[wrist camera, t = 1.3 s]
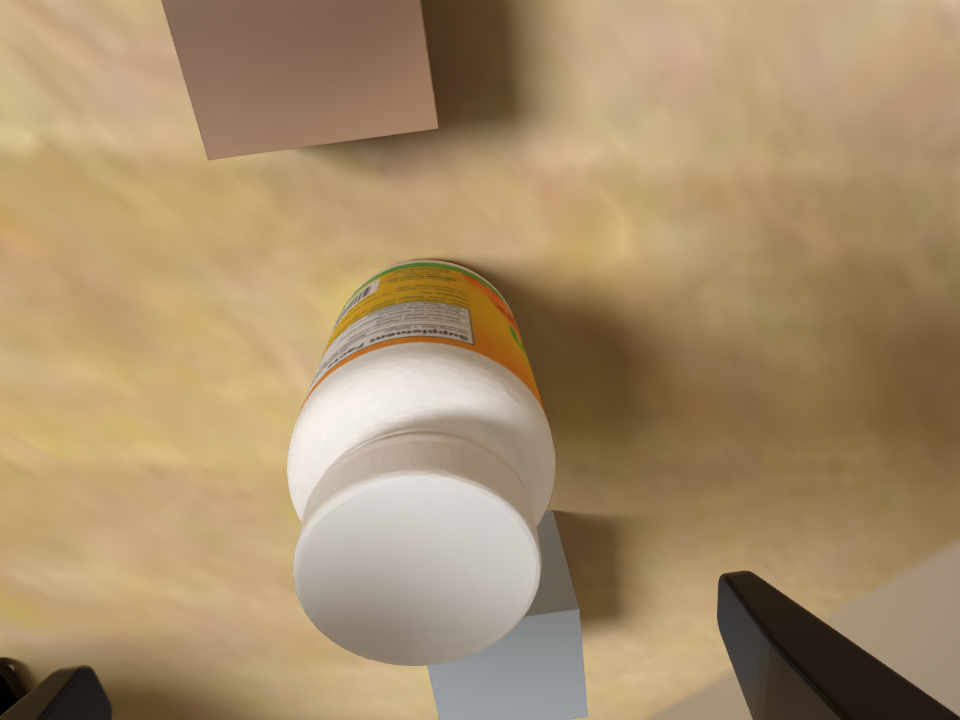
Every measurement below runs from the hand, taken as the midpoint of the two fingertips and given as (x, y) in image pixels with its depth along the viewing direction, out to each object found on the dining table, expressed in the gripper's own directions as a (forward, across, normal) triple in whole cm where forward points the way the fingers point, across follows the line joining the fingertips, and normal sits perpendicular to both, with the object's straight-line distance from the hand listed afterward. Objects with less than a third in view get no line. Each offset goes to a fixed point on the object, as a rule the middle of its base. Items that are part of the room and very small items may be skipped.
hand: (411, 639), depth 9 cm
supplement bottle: (+11, 0, 0) cm, 11 cm away
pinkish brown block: (+11, +1, -9) cm, 14 cm away
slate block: (+11, -1, +9) cm, 14 cm away
